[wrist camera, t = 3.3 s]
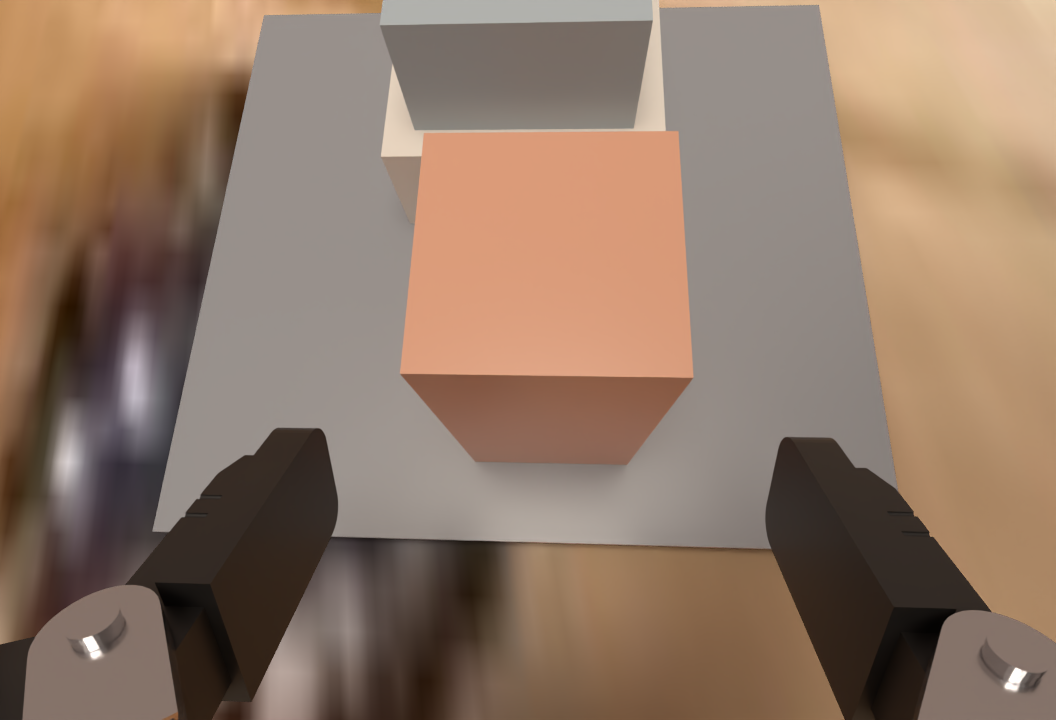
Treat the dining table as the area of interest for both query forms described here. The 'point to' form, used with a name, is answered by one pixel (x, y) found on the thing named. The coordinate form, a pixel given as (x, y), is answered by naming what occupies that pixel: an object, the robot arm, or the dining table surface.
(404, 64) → the tower base
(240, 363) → the baseplate
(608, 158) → the terracotta brick
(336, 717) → the dining table surface
